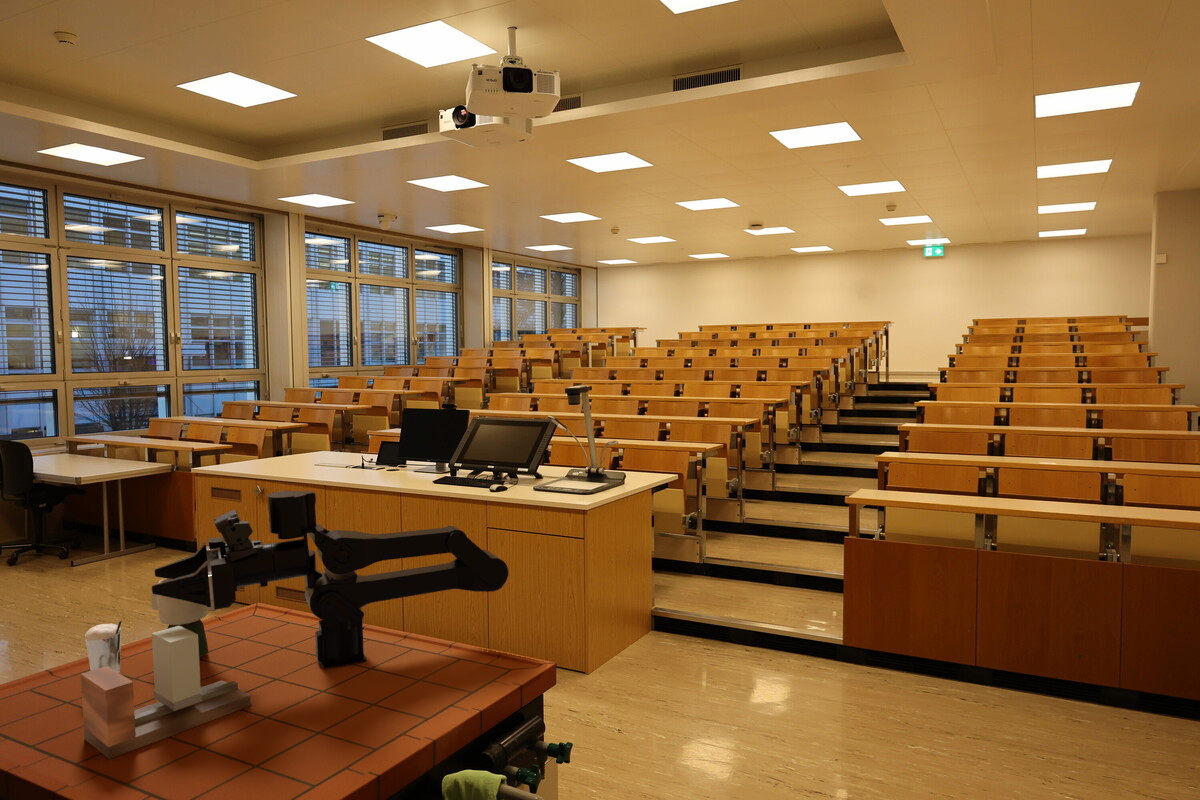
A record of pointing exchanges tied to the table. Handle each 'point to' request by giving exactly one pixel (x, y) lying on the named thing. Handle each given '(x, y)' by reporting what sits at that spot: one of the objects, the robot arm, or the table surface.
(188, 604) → the character mug
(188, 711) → the track
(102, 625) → the milkshake
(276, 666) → the table surface
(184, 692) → the block
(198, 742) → the table surface
